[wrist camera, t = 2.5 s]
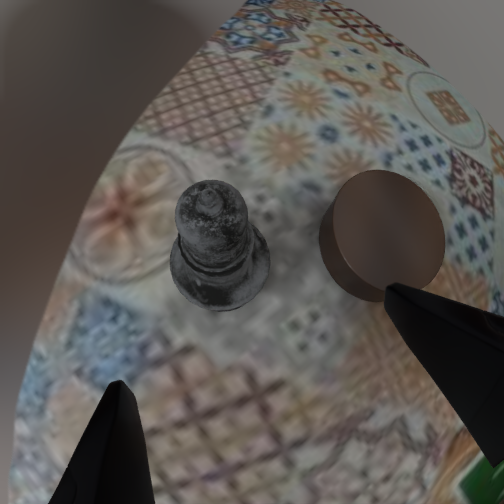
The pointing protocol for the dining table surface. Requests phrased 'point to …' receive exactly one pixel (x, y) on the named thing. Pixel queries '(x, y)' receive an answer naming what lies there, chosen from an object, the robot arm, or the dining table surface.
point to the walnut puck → (381, 235)
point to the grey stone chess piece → (217, 248)
